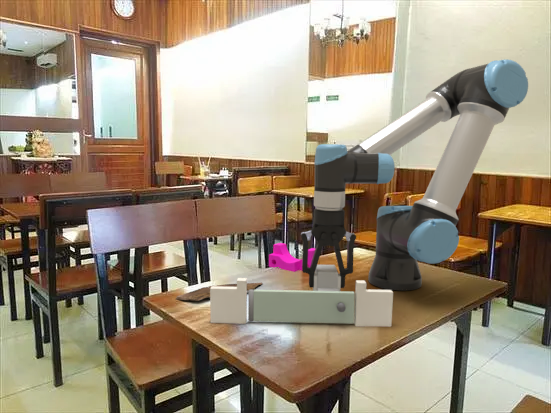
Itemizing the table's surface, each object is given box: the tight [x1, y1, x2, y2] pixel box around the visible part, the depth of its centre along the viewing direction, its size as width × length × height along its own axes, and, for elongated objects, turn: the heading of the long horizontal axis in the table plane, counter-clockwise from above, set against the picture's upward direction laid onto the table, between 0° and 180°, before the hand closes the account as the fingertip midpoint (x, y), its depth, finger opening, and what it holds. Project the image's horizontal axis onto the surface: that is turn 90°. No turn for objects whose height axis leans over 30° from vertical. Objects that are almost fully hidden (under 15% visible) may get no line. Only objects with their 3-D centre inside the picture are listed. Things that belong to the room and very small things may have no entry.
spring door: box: [247, 289, 355, 324], centre depth 93 cm, size 24×3×7 cm, turn 89°
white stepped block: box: [315, 264, 339, 291], centre depth 104 cm, size 5×12×8 cm, turn 179°
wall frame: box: [209, 277, 394, 328], centre depth 94 cm, size 41×2×10 cm, turn 89°
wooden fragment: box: [175, 282, 263, 302], centre depth 115 cm, size 26×11×1 cm, turn 120°
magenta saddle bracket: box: [268, 242, 316, 273], centre depth 138 cm, size 15×6×8 cm, turn 54°
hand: (326, 299), depth 105 cm, fingers closed on white stepped block, 5 cm apart
